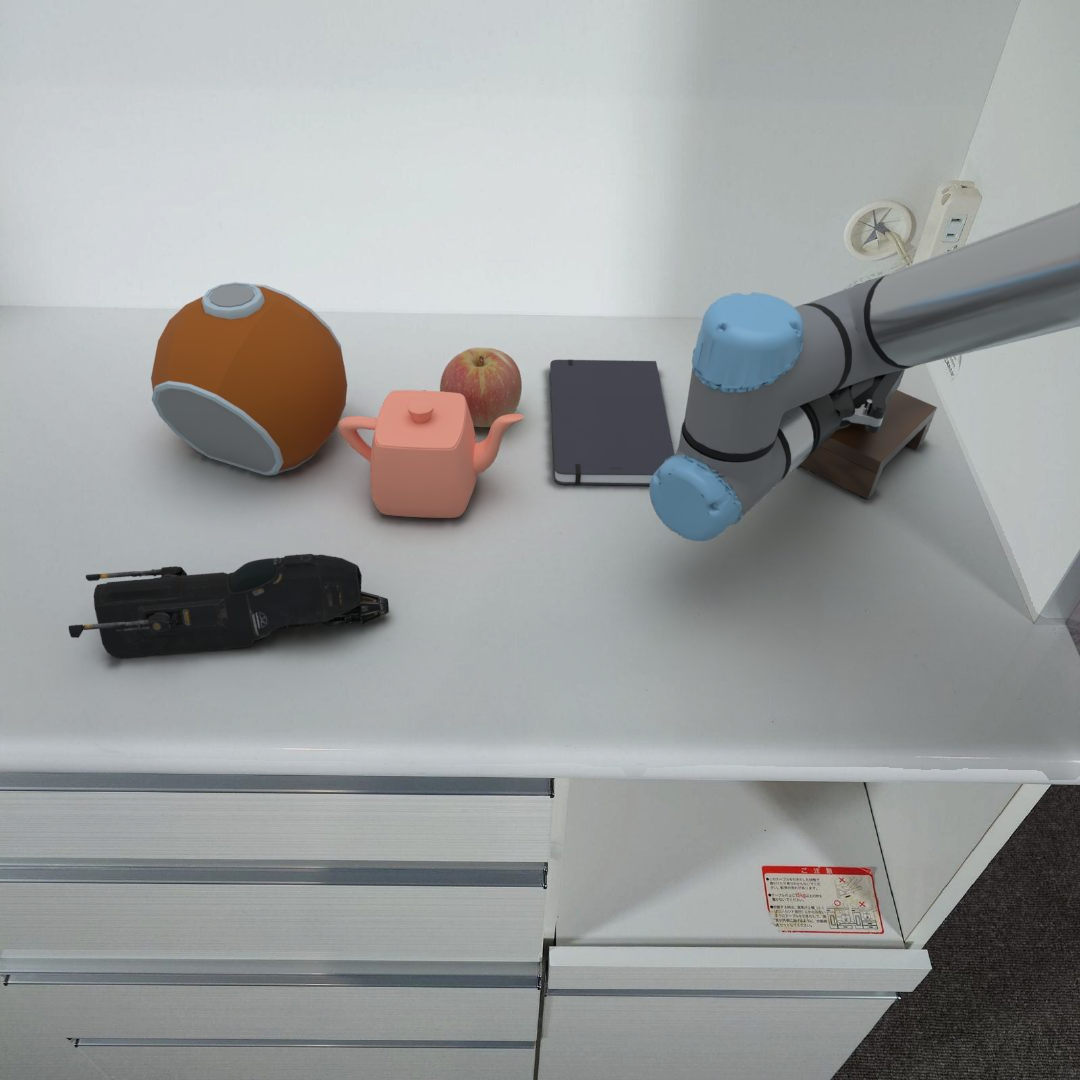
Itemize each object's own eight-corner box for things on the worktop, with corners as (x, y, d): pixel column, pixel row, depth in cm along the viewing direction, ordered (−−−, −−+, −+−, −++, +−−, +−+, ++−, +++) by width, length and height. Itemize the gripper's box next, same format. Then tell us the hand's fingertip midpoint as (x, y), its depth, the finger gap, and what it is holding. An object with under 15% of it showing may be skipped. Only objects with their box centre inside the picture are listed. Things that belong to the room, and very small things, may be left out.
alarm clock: (383, 417, 103) (368, 274, 91) (296, 513, 91) (265, 363, 79) (239, 377, 108) (206, 236, 96) (139, 463, 96) (87, 315, 84)
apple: (519, 443, 100) (519, 381, 95) (437, 439, 100) (433, 377, 95) (523, 397, 106) (524, 336, 101) (446, 393, 107) (443, 333, 101)
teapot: (356, 449, 99) (345, 366, 91) (524, 457, 99) (526, 374, 91) (335, 521, 90) (321, 437, 83) (519, 530, 90) (520, 446, 83)
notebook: (676, 486, 96) (654, 371, 111) (678, 474, 95) (656, 360, 110) (554, 485, 95) (549, 370, 111) (554, 473, 94) (549, 358, 110)
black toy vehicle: (107, 611, 82) (75, 546, 76) (390, 588, 84) (378, 522, 78) (89, 672, 77) (53, 607, 72) (389, 646, 79) (377, 581, 74)
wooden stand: (922, 444, 102) (943, 391, 97) (867, 499, 95) (887, 446, 90) (804, 389, 109) (818, 338, 104) (744, 438, 102) (756, 385, 97)
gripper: (706, 427, 89) (826, 334, 102) (840, 494, 83) (951, 387, 96) (719, 360, 84) (844, 272, 97) (862, 427, 77) (976, 323, 90)
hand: (897, 329), depth 96 cm, fingers closed on mug, 1 cm apart
